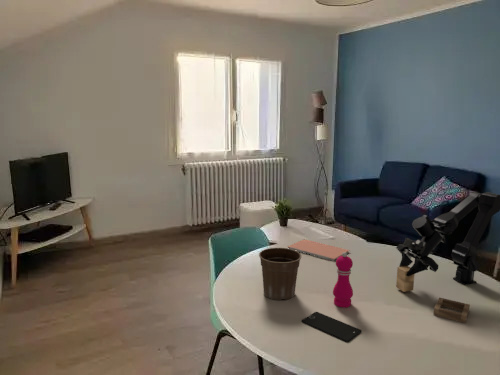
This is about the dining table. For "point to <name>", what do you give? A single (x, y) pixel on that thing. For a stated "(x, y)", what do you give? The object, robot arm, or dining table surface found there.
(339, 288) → the pepper mill
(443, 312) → the walnut holder
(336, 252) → the notebook
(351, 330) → the cell phone
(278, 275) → the plant pot
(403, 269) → the oak block
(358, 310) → the dining table surface
